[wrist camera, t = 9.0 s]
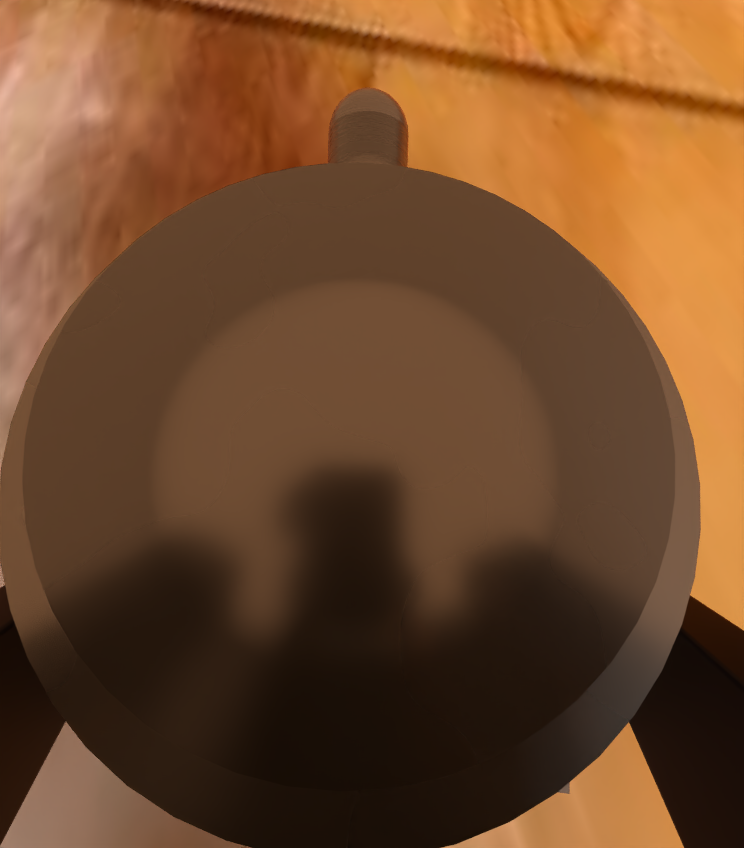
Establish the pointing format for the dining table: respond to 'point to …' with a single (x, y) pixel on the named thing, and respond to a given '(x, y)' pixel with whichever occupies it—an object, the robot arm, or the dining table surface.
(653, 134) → the dining table surface
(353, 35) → the dining table surface
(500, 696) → the spout can
